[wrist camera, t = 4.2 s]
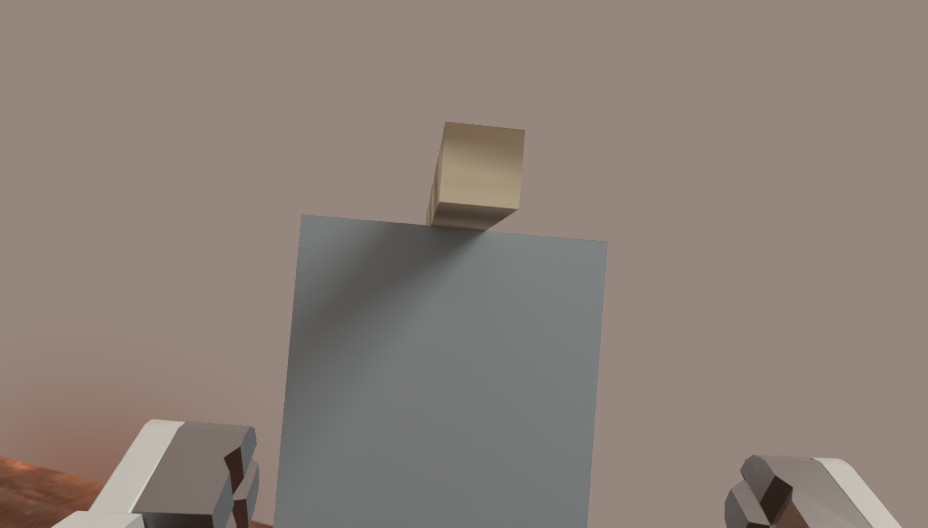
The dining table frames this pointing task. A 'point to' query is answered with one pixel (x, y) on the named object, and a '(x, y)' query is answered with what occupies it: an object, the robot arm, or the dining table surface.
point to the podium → (439, 378)
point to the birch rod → (476, 176)
